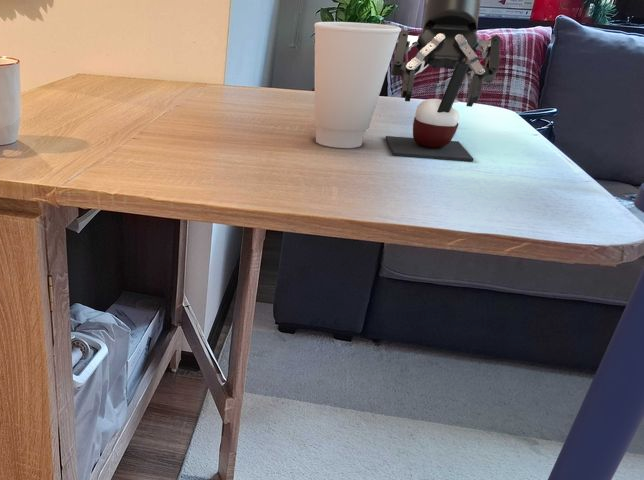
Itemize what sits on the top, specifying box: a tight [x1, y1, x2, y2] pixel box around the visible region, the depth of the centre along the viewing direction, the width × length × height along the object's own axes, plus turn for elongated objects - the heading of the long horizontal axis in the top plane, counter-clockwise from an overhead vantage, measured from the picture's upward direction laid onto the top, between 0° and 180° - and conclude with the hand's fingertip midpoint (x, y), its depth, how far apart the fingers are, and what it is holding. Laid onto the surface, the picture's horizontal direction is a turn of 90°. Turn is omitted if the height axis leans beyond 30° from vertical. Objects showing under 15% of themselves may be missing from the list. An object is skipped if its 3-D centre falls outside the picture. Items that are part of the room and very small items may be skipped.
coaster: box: [385, 135, 474, 162], centre depth 94 cm, size 11×11×1 cm
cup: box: [313, 21, 402, 149], centre depth 92 cm, size 12×12×16 cm
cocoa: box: [412, 63, 469, 149], centre depth 91 cm, size 10×6×12 cm, turn 154°
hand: (439, 100), depth 90 cm, fingers open, 8 cm apart
